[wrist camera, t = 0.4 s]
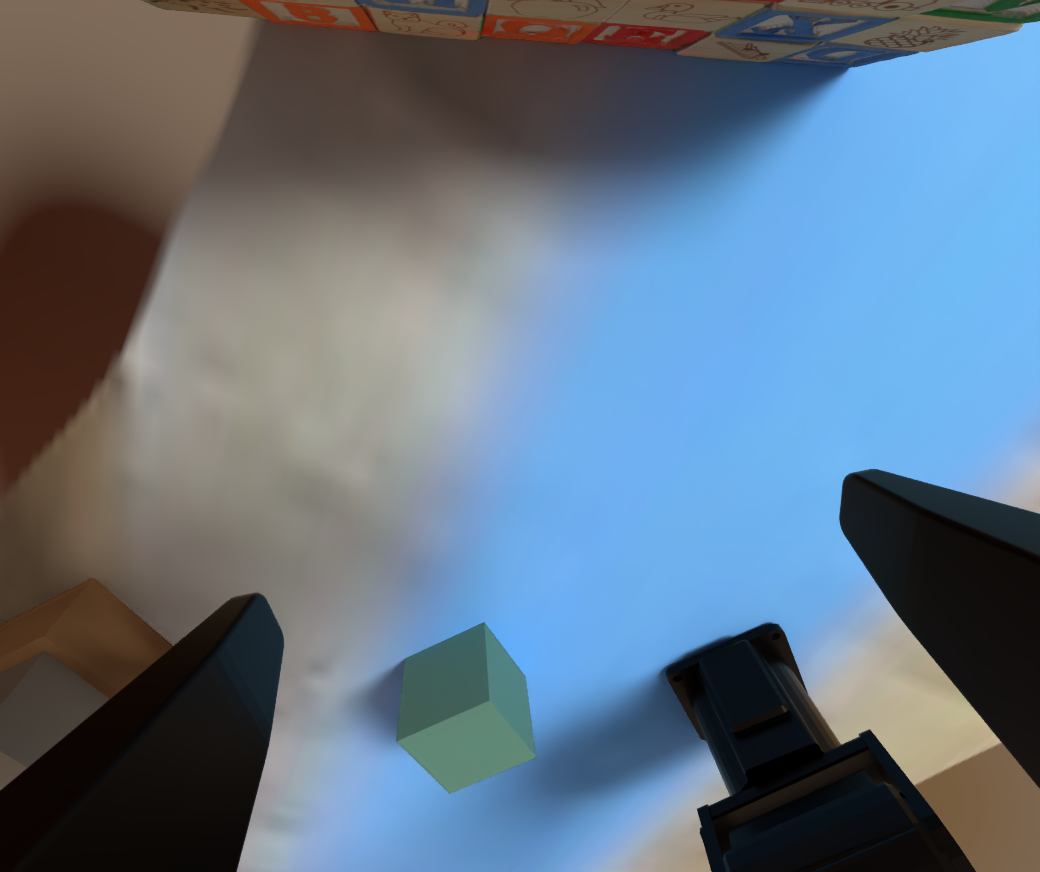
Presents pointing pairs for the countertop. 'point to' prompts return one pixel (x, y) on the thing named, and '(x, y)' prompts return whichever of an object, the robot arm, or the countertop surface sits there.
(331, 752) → the countertop surface
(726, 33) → the stack of blocks
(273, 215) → the countertop surface
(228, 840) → the robot arm
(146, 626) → the walnut base block
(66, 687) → the charcoal block
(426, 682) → the teal block
